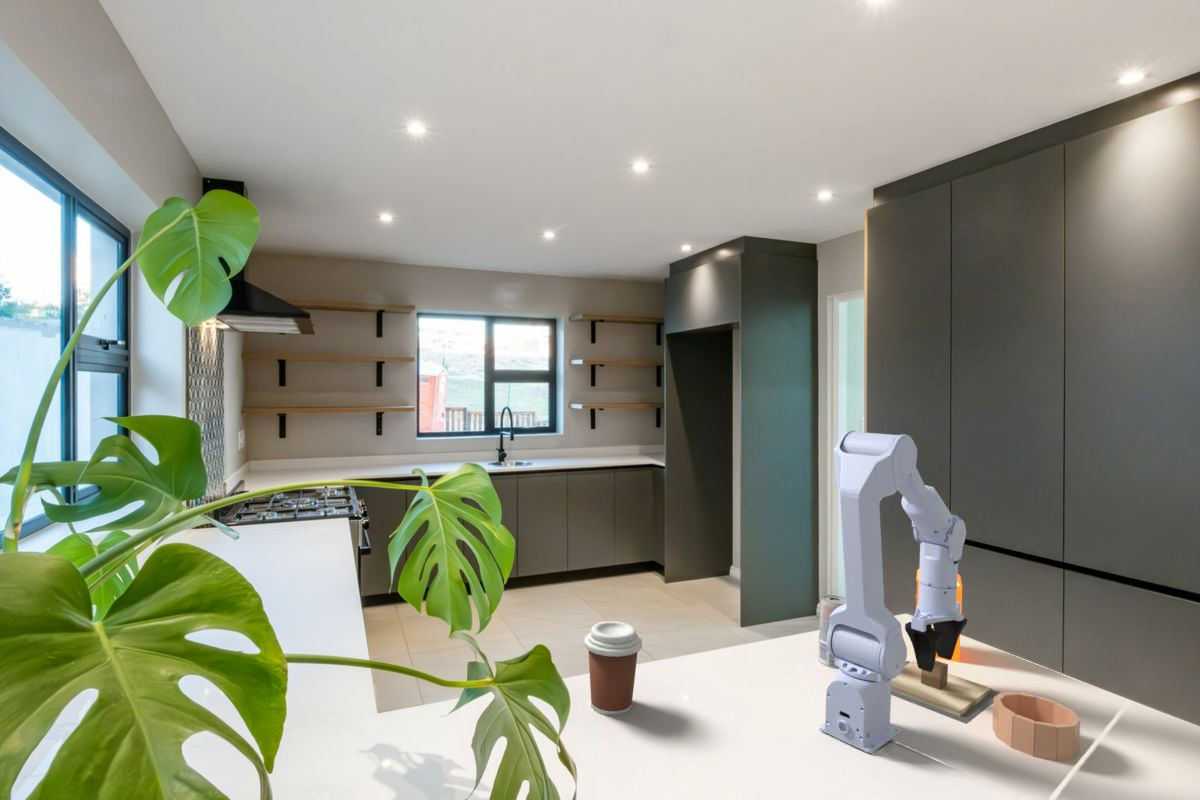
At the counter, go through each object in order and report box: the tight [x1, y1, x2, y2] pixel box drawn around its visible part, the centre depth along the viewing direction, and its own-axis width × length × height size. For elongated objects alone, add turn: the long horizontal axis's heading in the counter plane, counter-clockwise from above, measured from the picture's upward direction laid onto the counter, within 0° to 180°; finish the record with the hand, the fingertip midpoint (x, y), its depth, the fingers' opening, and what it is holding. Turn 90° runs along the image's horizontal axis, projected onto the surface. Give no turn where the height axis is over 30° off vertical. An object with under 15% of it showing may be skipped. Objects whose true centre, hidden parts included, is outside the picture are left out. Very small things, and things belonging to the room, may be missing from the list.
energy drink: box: [818, 594, 846, 670], centre depth 118 cm, size 5×5×12 cm
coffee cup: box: [584, 620, 643, 716], centre depth 100 cm, size 9×9×12 cm
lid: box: [891, 659, 992, 716], centre depth 108 cm, size 13×13×4 cm
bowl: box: [992, 691, 1081, 762], centre depth 92 cm, size 10×10×5 cm
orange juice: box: [915, 568, 963, 663], centre depth 125 cm, size 8×9×20 cm
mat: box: [891, 660, 1002, 725], centre depth 108 cm, size 16×16×1 cm
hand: (935, 663), depth 108 cm, fingers open, 7 cm apart
